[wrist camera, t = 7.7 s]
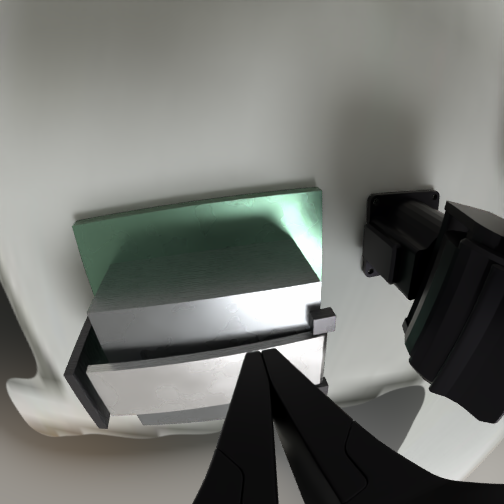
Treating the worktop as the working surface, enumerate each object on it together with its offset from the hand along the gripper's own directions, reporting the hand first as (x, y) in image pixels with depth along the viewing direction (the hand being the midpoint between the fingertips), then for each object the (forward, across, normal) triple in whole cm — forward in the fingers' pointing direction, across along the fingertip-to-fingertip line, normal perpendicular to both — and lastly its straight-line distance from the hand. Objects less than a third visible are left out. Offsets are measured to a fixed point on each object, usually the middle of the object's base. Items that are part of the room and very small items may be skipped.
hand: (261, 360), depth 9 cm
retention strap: (+6, +2, +7) cm, 10 cm away
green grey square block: (+13, +2, +7) cm, 15 cm away
